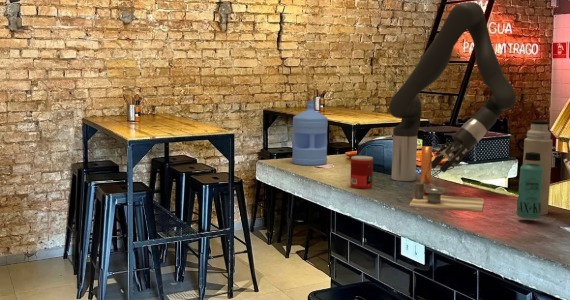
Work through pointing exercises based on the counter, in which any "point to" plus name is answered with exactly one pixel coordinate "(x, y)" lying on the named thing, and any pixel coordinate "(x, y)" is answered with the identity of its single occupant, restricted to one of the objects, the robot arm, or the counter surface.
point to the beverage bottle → (530, 188)
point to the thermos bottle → (541, 144)
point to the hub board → (445, 201)
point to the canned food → (361, 172)
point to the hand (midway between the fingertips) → (436, 168)
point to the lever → (428, 172)
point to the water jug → (310, 137)
